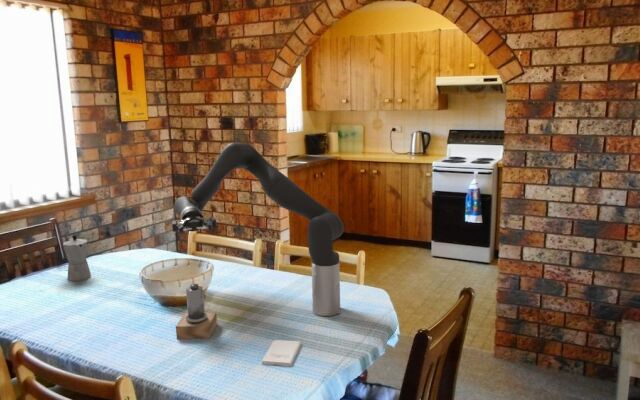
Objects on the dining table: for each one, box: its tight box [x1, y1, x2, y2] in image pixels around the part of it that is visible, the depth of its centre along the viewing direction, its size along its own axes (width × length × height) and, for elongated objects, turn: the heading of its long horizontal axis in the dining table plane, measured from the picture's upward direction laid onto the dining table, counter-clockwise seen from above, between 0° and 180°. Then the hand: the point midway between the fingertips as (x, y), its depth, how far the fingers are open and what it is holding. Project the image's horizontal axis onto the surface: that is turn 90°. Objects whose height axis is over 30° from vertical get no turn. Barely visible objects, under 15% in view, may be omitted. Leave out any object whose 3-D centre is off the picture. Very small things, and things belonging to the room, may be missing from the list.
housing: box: [185, 283, 207, 324], centre depth 163 cm, size 6×6×11 cm
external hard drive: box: [261, 339, 302, 367], centre depth 149 cm, size 2×8×12 cm
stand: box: [175, 312, 218, 340], centre depth 164 cm, size 10×10×4 cm
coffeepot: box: [62, 234, 92, 282], centre depth 215 cm, size 15×9×18 cm, turn 44°
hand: (196, 229), depth 170 cm, fingers open, 8 cm apart
